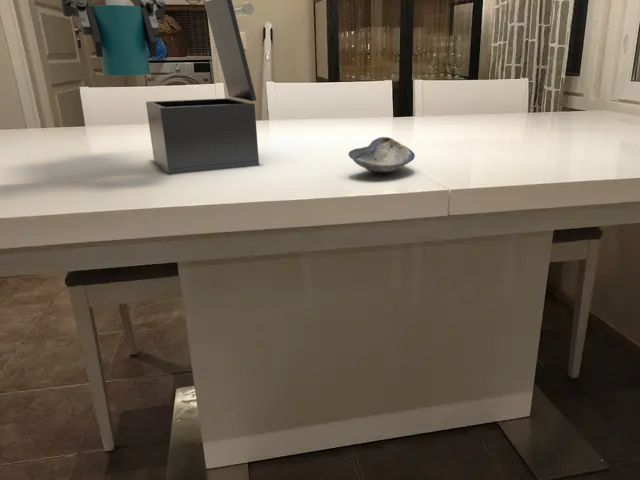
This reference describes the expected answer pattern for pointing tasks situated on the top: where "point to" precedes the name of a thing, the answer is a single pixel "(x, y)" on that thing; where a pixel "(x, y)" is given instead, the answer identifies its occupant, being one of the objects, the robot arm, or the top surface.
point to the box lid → (231, 45)
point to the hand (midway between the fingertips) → (126, 49)
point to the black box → (203, 134)
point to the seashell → (382, 155)
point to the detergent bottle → (122, 38)
